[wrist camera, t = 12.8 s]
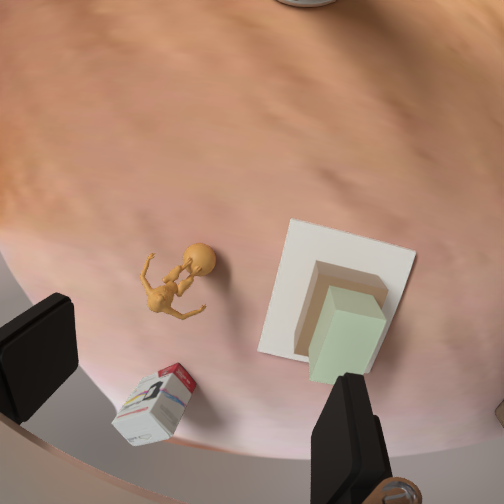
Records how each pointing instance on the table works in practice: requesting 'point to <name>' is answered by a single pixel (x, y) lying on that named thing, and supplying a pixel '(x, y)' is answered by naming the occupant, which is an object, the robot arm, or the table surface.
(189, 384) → the ink box
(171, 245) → the table surface
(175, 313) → the figurine
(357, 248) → the plate
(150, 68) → the table surface
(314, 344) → the green brick
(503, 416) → the block
